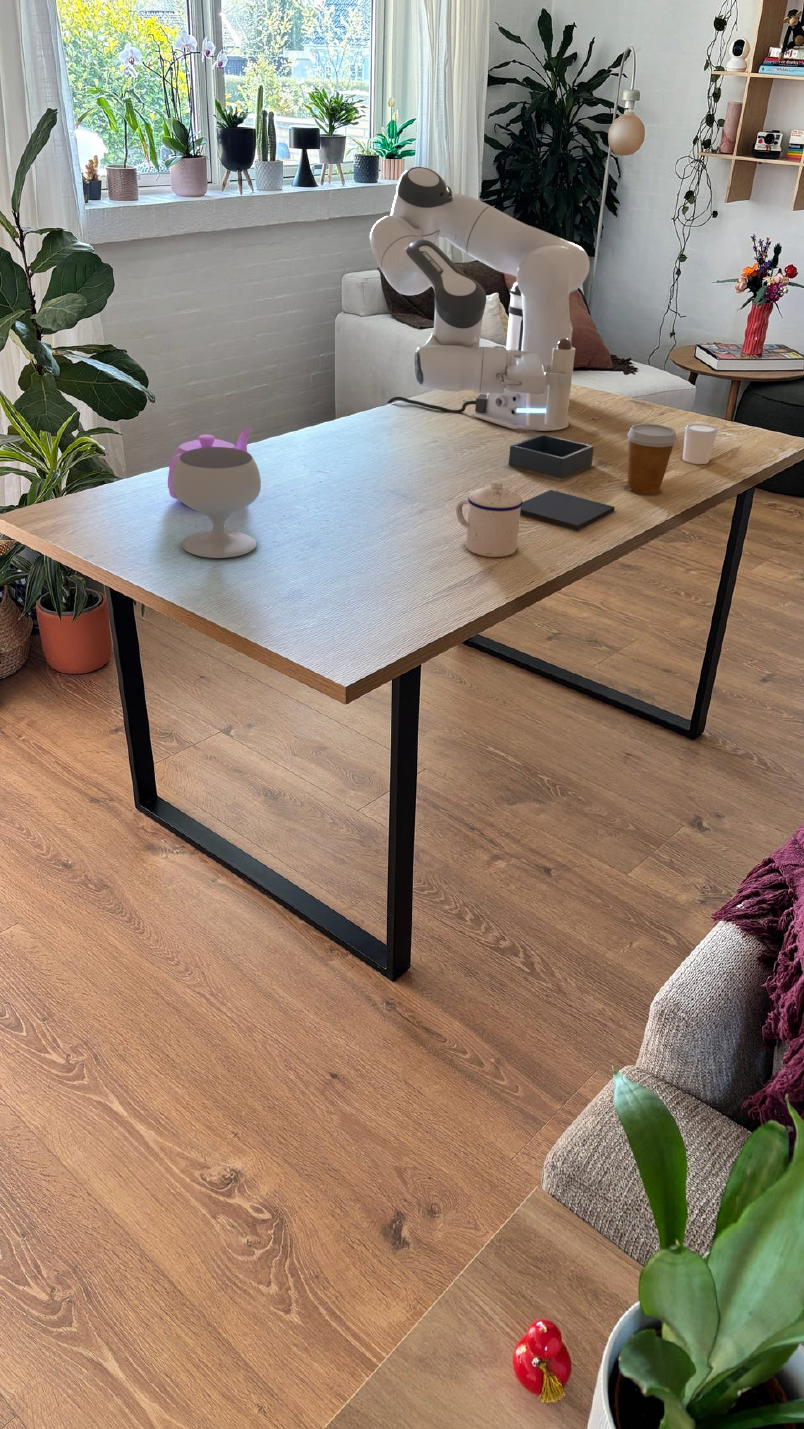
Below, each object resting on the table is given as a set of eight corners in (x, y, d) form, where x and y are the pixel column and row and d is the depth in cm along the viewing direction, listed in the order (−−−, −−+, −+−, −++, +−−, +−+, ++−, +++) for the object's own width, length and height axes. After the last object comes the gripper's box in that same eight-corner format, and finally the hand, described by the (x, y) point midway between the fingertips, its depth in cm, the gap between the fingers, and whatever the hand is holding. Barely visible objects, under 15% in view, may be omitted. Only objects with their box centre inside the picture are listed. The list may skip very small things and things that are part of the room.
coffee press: (565, 390, 286) (579, 268, 271) (538, 401, 274) (552, 274, 259) (507, 379, 293) (517, 260, 278) (478, 390, 281) (488, 266, 266)
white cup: (709, 456, 238) (715, 424, 235) (714, 466, 232) (720, 433, 229) (677, 454, 239) (683, 422, 235) (681, 463, 233) (687, 431, 229)
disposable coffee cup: (672, 487, 218) (682, 428, 212) (661, 500, 211) (672, 439, 205) (626, 479, 221) (635, 420, 215) (613, 492, 214) (622, 431, 208)
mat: (511, 512, 201) (511, 507, 201) (550, 494, 211) (550, 489, 210) (577, 531, 194) (577, 525, 194) (614, 511, 204) (615, 506, 203)
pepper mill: (540, 424, 220) (549, 338, 212) (551, 420, 223) (561, 335, 215) (559, 428, 218) (569, 341, 210) (570, 424, 221) (580, 338, 213)
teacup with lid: (527, 548, 186) (534, 481, 180) (499, 562, 179) (505, 494, 173) (469, 530, 192) (474, 466, 186) (439, 544, 185) (444, 478, 180)
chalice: (213, 525, 188) (209, 439, 181) (279, 543, 183) (277, 455, 175) (159, 549, 178) (152, 459, 170) (226, 569, 172) (223, 476, 164)
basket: (508, 467, 225) (510, 445, 223) (539, 455, 234) (542, 433, 231) (560, 481, 218) (563, 458, 216) (591, 467, 227) (594, 446, 225)
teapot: (197, 520, 190) (193, 454, 184) (147, 502, 197) (142, 437, 191) (278, 494, 204) (277, 432, 198) (229, 478, 211) (226, 417, 205)
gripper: (499, 366, 205) (572, 370, 205) (495, 344, 223) (562, 347, 223) (496, 399, 208) (568, 404, 208) (492, 375, 226) (559, 379, 226)
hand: (565, 374), depth 216 cm, fingers closed on pepper mill, 4 cm apart
